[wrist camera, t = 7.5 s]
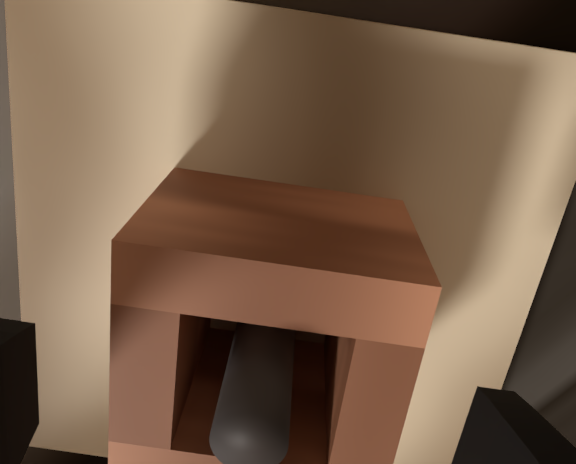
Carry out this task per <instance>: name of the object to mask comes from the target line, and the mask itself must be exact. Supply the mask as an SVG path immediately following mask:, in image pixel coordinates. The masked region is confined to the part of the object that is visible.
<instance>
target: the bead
mask: <svg viewBox="0 0 576 464" xmlns="http://www.w3.org/2000/svg"><path fill="white" fill-rule="evenodd" d="M441 289H442V286H441V284H440V282H439V280H438V277H437V275H436V273H435V271H434V269H433V266H432V264H431V262H430V260H429V257H428V255H427V253H426V251H425V249H424V246H423V244H422V242H421V240H420V238H419V235H418V233H417V231H416V229H415V226H414V224H413V222H412V220H411V218H410V215H409V213H408V211H407V209H406V206H405V204H404V202H403V200H396V199H389V198H382V197H375V196H368V195H361V194H354V193H347V192H341V191H334V190H327V189H320V188H313V187H306V186H299V185H292V184H285V183H279V182H272V181H265V180H258V179H251V178H244V177H237V176H230V175H223V174H216V173H210V172H203V171H196V170H189V169H182V168H175V167H174V168H173V170H172V171H171V172H170V173H169V174H168V175H167V177H166V178H165V179H164V180H163V181H162V182H161V183H160V185H159V186H158V187H157V188H156V189H155V190H154V191H153V193H152V194H151V195H150V196H149V197H148V198H147V200H146V201H145V202H144V203H143V204H142V205H141V206H140V208H139V209H138V210H137V211H136V212H135V213H134V215H133V216H132V217H131V218H130V219H129V220H128V221H127V223H126V224H125V225H124V226H123V227H122V228H121V230H120V231H119V232H118V233H117V234H116V235H115V236H114V238H113V239H112V240H111V298H110V364H109V430H108V464H223V463H222V462H220V461H219V460H218V459H217V458H216V456H215V455H214V454H213V452H212V450H211V447H210V442H209V436H210V431H211V427H212V423H213V419H214V415H215V411H216V407H217V403H218V399H219V395H220V390H221V386H222V382H223V378H224V374H225V370H226V366H227V362H228V358H229V354H230V350H231V346H232V342H233V337H234V333H235V331H230V330H223V329H216V328H210V323H211V318H214V319H221V320H228V321H235V322H242V323H249V324H256V325H263V326H270V327H277V328H284V329H291V330H298V331H305V332H312V333H319V334H326V335H325V341H324V344H322V343H315V342H308V341H301V340H295V347H294V364H293V381H292V398H291V414H290V431H289V446H288V451H287V454H286V456H285V457H284V459H283V460H282V461H281V462H280V463H279V464H393V463H394V459H395V456H396V452H397V449H398V445H399V441H400V438H401V434H402V430H403V427H404V423H405V420H406V416H407V412H408V409H409V405H410V402H411V398H412V394H413V391H414V387H415V383H416V380H417V376H418V373H419V369H420V365H421V362H422V358H423V355H424V351H425V347H426V344H427V340H428V336H429V333H430V329H431V326H432V322H433V318H434V315H435V311H436V308H437V304H438V300H439V297H440V293H441Z"/></svg>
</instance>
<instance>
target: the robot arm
mask: <svg viewBox="0 0 576 464" xmlns="http://www.w3.org/2000/svg"><path fill="white" fill-rule="evenodd" d="M38 425H39V402H38V378H37V353H36V329H35V323H30V322H23V321H16V320H9V319H2V318H0V464H20V463H21V461H22V459H23V457H24V455H25V453H26V451H27V448H28V446H29V444H30V442H31V440H32V438H33V436H34V434H35V432H36V430H37V427H38ZM451 464H576V448H575V447H574V446H573V445H572V444H571V443H570V442H569V441H568V440H567V439H566V438H565V437H564V436H562V435H561V434H560V433H559V432H558V431H557V430H556V429H555V428H554V427H553V426H552V425H551V424H550V423H549V422H548V421H547V420H546V419H545V418H543V417H542V416H541V415H540V414H539V413H538V412H537V411H536V410H535V409H534V408H533V407H532V406H530V405H529V404H528V403H527V402H526V401H525V400H524V399H522V398H521V397H520V396H519V395H518V394H517V393H515V392H513V391H506V390H499V389H492V388H485V387H478V386H477V389H476V392H475V395H474V397H473V400H472V403H471V406H470V409H469V412H468V415H467V418H466V421H465V424H464V427H463V430H462V433H461V436H460V439H459V442H458V445H457V448H456V451H455V454H454V457H453V460H452V463H451Z"/></svg>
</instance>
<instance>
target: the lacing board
mask: <svg viewBox="0 0 576 464" xmlns="http://www.w3.org/2000/svg"><path fill="white" fill-rule="evenodd" d="M5 17H6V37H7V56H8V75H9V94H10V114H11V133H12V152H13V172H14V191H15V210H16V229H17V249H18V268H19V287H20V307H21V321H23V322H30V323H35V329H36V353H37V378H38V402H39V425H38V427H37V430H36V432H35V434H34V436H33V438H32V440H31V442H30V444H29V446H31V447H38V448H45V449H52V450H59V451H66V452H73V453H80V454H87V455H94V456H101V457H108V430H109V364H110V298H111V240H112V239H113V238H114V236H115V235H116V234H117V233H118V232H119V231H120V230H121V228H122V227H123V226H124V225H125V224H126V223H127V221H128V220H129V219H130V218H131V217H132V216H133V215H134V213H135V212H136V211H137V210H138V209H139V208H140V206H141V205H142V204H143V203H144V202H145V201H146V200H147V198H148V197H149V196H150V195H151V194H152V193H153V191H154V190H155V189H156V188H157V187H158V186H159V185H160V183H161V182H162V181H163V180H164V179H165V178H166V177H167V175H168V174H169V173H170V172H171V171H172V170H173V168H174V167H175V168H182V169H189V170H196V171H203V172H210V173H216V174H223V175H230V176H237V177H244V178H251V179H258V180H265V181H272V182H279V183H285V184H292V185H299V186H306V187H313V188H320V189H327V190H334V191H341V192H347V193H354V194H361V195H368V196H375V197H382V198H389V199H396V200H403V202H404V204H405V206H406V209H407V211H408V213H409V215H410V218H411V220H412V222H413V224H414V226H415V229H416V231H417V233H418V235H419V238H420V240H421V242H422V244H423V246H424V249H425V251H426V253H427V255H428V257H429V260H430V262H431V264H432V266H433V269H434V271H435V273H436V275H437V277H438V280H439V282H440V284H441V286H442V289H441V293H440V297H439V300H438V304H437V308H436V311H435V315H434V318H433V322H432V326H431V329H430V333H429V336H428V340H427V344H426V347H425V351H424V355H423V358H422V362H421V365H420V369H419V373H418V376H417V380H416V383H415V387H414V391H413V394H412V398H411V402H410V405H409V409H408V412H407V416H406V420H405V423H404V427H403V430H402V434H401V438H400V441H399V445H398V449H397V452H396V456H395V459H394V463H393V464H451V463H452V460H453V457H454V454H455V451H456V448H457V445H458V442H459V439H460V436H461V433H462V430H463V427H464V424H465V421H466V418H467V415H468V412H469V409H470V406H471V403H472V400H473V397H474V395H475V392H476V389H477V386H478V387H485V388H492V389H499V390H501V388H502V385H503V383H504V380H505V377H506V374H507V371H508V369H509V366H510V363H511V360H512V357H513V355H514V352H515V349H516V346H517V343H518V341H519V338H520V335H521V332H522V329H523V327H524V324H525V321H526V318H527V315H528V313H529V310H530V307H531V304H532V301H533V299H534V296H535V293H536V290H537V287H538V285H539V282H540V279H541V276H542V273H543V271H544V268H545V265H546V262H547V259H548V257H549V254H550V251H551V248H552V245H553V243H554V240H555V237H556V234H557V231H558V229H559V226H560V223H561V220H562V217H563V215H564V212H565V209H566V206H567V203H568V201H569V198H570V195H571V192H572V189H573V187H574V184H575V181H576V53H575V52H568V51H562V50H555V49H549V48H542V47H536V46H529V45H522V44H516V43H509V42H503V41H496V40H490V39H483V38H477V37H470V36H464V35H457V34H451V33H444V32H438V31H431V30H425V29H418V28H411V27H405V26H398V25H392V24H385V23H379V22H372V21H366V20H359V19H353V18H346V17H340V16H333V15H327V14H320V13H314V12H307V11H301V10H294V9H287V8H281V7H274V6H268V5H261V4H255V3H248V2H242V1H235V0H5ZM210 328H216V329H223V330H230V331H235V333H234V337H233V342H232V346H231V350H230V354H229V358H228V362H227V366H226V370H225V374H224V378H223V382H222V386H221V390H220V395H219V399H218V403H217V407H216V411H215V415H214V419H213V423H212V427H211V431H210V436H209V442H210V447H211V450H212V452H213V454H214V455H215V456H216V458H217V459H218V460H219V461H220V462H222V463H223V464H279V463H280V462H281V461H282V460H283V459H284V457H285V456H286V454H287V451H288V446H289V431H290V414H291V398H292V381H293V364H294V347H295V340H301V341H308V342H315V343H322V344H324V341H325V335H326V334H319V333H312V332H305V331H298V330H291V329H284V328H277V327H270V326H263V325H256V324H249V323H242V322H235V321H228V320H221V319H214V318H211V323H210Z"/></svg>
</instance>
